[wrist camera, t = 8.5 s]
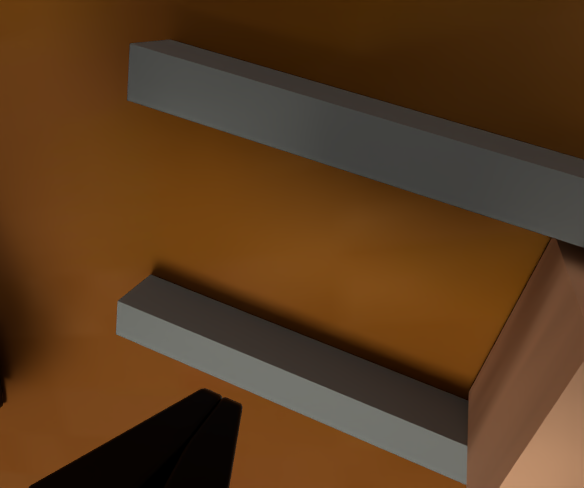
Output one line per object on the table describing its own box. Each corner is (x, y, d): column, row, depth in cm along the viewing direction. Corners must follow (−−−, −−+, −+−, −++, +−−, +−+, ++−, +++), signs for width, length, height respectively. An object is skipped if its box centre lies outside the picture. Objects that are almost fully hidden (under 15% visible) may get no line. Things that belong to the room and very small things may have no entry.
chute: (147, 305, 19) (77, 368, 16) (170, 39, 15) (76, 48, 11) (728, 544, 15) (799, 696, 12) (1021, 286, 11) (1279, 417, 7)
